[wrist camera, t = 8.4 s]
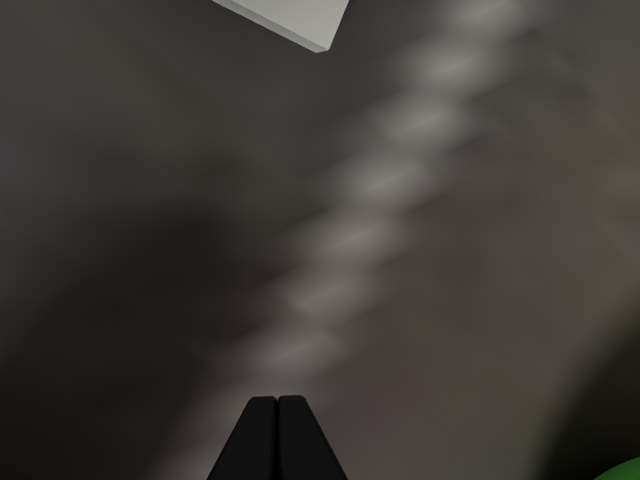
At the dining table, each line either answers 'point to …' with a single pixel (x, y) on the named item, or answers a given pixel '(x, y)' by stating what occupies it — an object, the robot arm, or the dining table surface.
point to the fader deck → (294, 18)
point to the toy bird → (623, 471)
